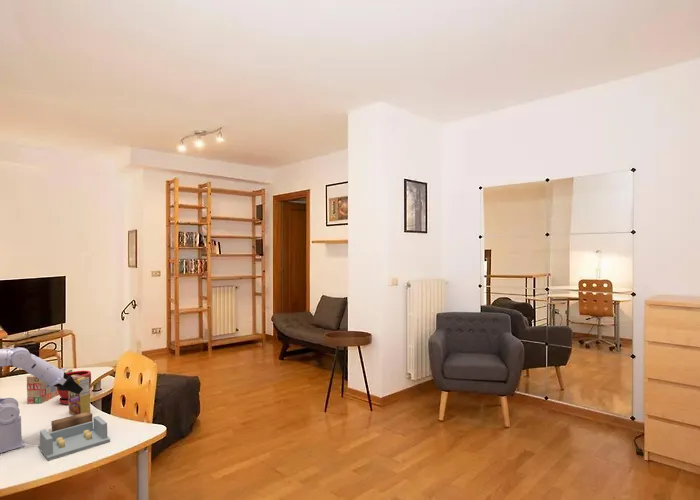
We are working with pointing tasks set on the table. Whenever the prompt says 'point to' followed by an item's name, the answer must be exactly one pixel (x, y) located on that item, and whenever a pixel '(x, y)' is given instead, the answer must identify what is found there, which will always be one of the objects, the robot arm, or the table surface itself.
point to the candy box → (80, 396)
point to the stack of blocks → (40, 390)
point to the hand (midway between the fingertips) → (78, 390)
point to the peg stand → (73, 439)
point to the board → (71, 421)
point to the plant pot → (64, 393)
